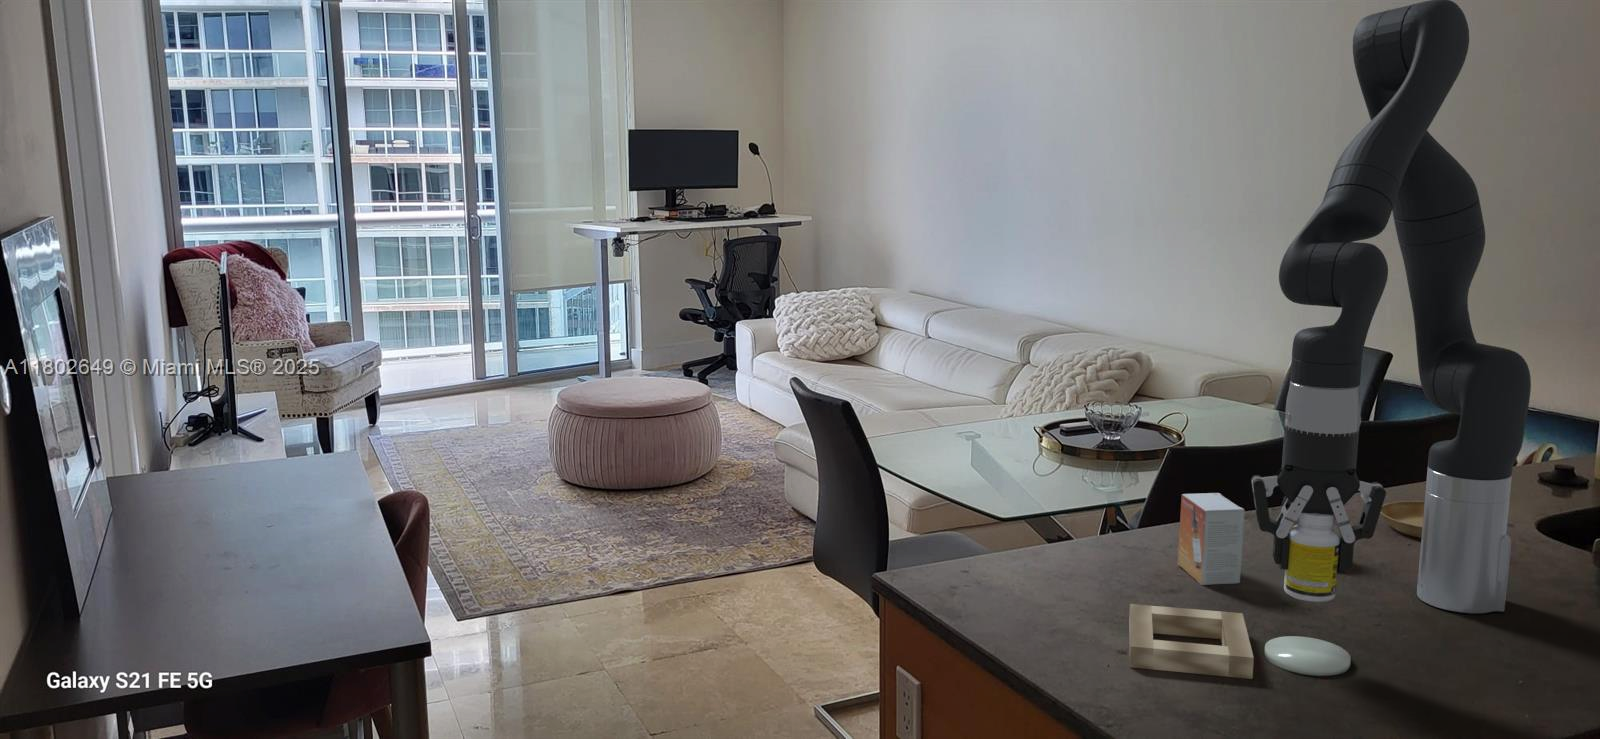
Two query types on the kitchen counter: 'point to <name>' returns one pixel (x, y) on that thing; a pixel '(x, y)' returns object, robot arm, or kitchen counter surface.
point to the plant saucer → (1405, 516)
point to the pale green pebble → (1307, 656)
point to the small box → (1211, 538)
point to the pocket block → (1190, 656)
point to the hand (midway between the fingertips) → (1311, 569)
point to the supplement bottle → (1312, 558)
